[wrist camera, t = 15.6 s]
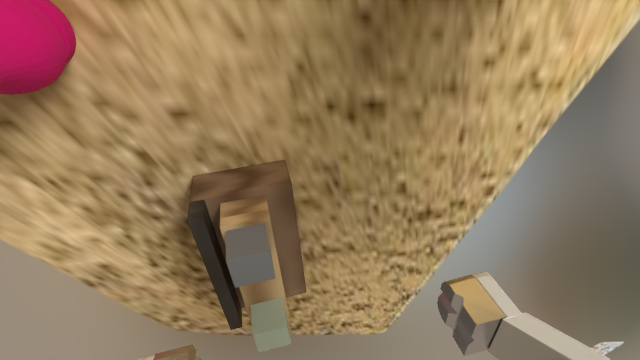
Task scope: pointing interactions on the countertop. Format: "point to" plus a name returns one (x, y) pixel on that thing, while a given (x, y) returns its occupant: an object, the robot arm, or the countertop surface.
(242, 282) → the block
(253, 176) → the block
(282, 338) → the block
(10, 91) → the pepper mill
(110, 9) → the countertop surface
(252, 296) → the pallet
